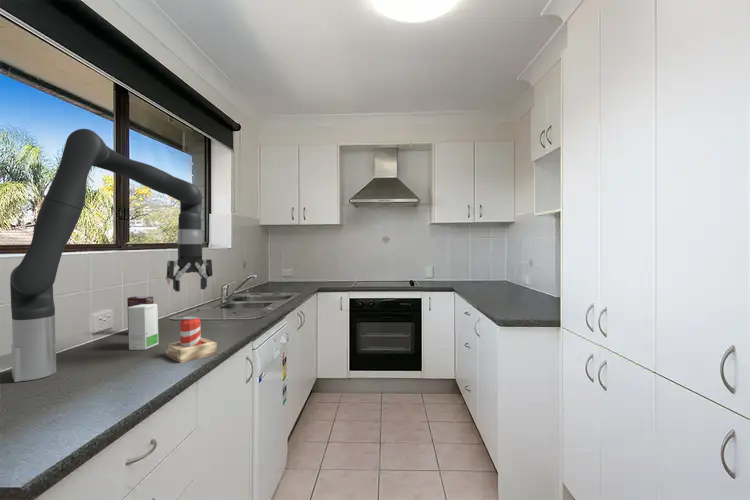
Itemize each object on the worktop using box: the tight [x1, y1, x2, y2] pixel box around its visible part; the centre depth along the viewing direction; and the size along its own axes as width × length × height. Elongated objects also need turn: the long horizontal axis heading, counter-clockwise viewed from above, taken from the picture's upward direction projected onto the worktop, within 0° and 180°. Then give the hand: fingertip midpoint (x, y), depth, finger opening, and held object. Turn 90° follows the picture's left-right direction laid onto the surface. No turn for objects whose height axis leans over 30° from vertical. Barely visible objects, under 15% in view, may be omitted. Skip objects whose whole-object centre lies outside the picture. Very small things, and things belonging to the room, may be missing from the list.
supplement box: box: [126, 296, 154, 336], centre depth 156 cm, size 9×5×16 cm, turn 84°
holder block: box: [165, 337, 218, 364], centre depth 127 cm, size 12×12×4 cm
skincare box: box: [127, 303, 159, 351], centre depth 137 cm, size 8×7×16 cm
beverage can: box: [179, 315, 202, 348], centre depth 127 cm, size 6×6×12 cm
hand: (190, 290), depth 127 cm, fingers open, 8 cm apart
